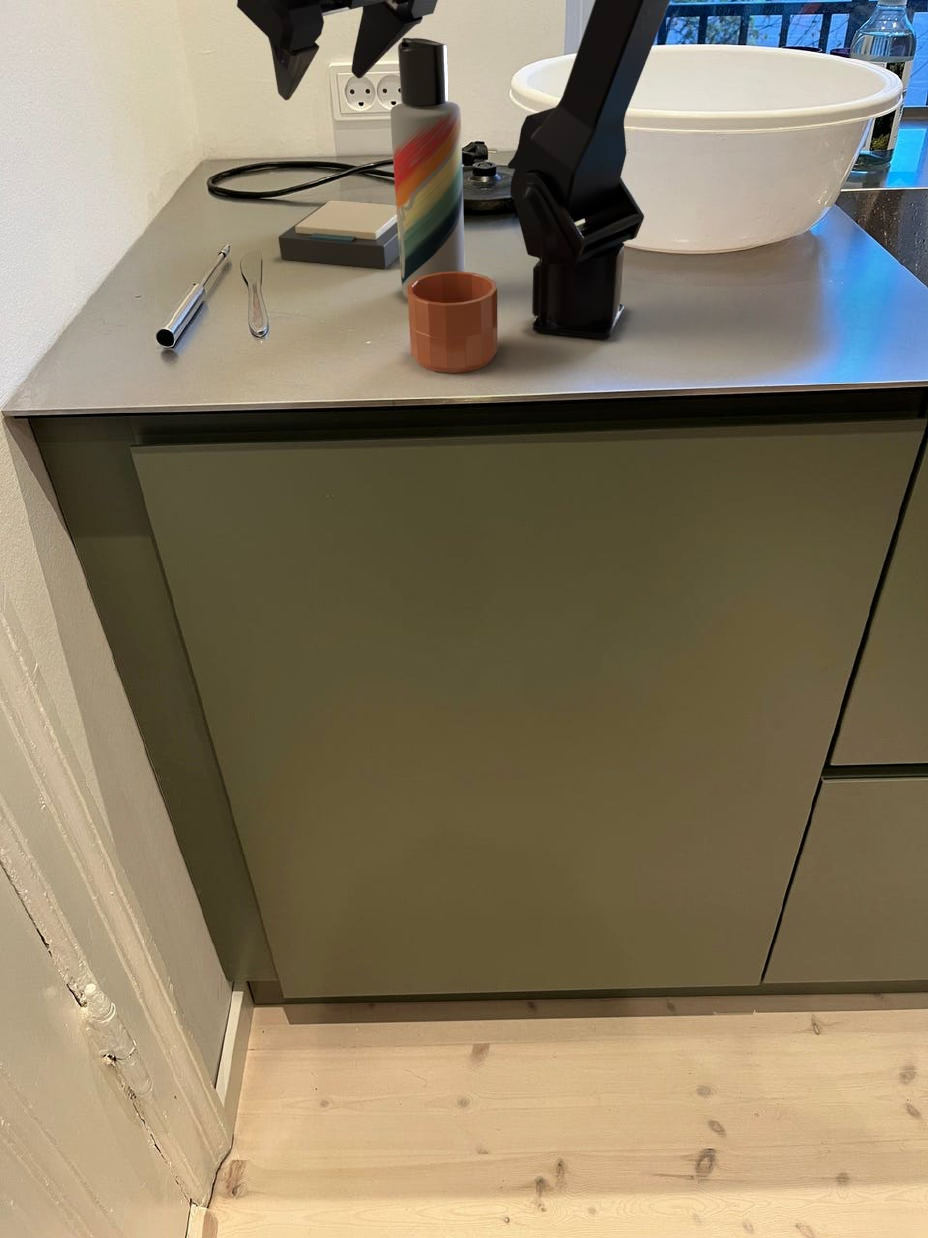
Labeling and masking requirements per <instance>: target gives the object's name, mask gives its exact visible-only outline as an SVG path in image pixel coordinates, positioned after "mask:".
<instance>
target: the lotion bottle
mask: <svg viewBox="0 0 928 1238" xmlns="http://www.w3.org/2000/svg"><path fill="white" fill-rule="evenodd" d="M397 55H398V70H399V85H400V87H399V88H400V101H401V103H398V104H396V105H394V106H392V108H391V109H390V113H389V114H390V132H391V148H392V149H391V151H392V163H393V176H394V178H393V179H394V192H395V193H394V194H395V205H396V209H397V224H398V239H399V254H400V256H399V268H400V279H401V280H400V281H401V290H402V294H403V296H404V297H405V298H406V299H407V300H408V296H407V286H408V285H409V284H410V283H411V282H412V281H413V280H415V279H418V278H420V277H422V276H424V275H429V274H433V273H438V272H450V271H462V272H466V262H465V261H466V258H465V223H464V219H465V218H464V183H463V182H464V181H463V177H464V176H463V144H462V143H463V141H462V140H463V139H462V114H461V113H462V111H461V108H460V105H458V104H457V103H455V102H453V101H449V68H448V67H449V65H448V45H447V44H445V43H441V42H439V41H435V40H432V39H427V38H421V37H412V38H411V37H402V38H401V41H400V43H398V46H397Z"/></svg>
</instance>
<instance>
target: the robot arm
mask: <svg viewBox="0 0 928 1238" xmlns="http://www.w3.org/2000/svg"><path fill="white" fill-rule="evenodd" d="M438 1H439V0H237V1H236V7H237V8H238V9H239V10H240V11H241V12H242V13H243V14H244V16H246V18H248V19H249V20H250V21H251V22H252V23H253V24H254V25H255V26H256V27H257V28H258V29H259V30H260V31H261V32H262V33H263V34H264V35H265V36H266V38H268V42H269V46H270V49H271V50H270V51H271V56H272V62H273V69H274V76H275V82H276V88H277V93H278V95H279V96H280V97H281V98H282V99H283V100H284V101H289V100H290V99H291V98H292V96H294V93H295V92H296V90H297V89H298V87H299V85H300V83H301V81H302V80H303V79H304V76H305V74H306V73H307V71H308V69H309V67H310V65H311V64H312V62H313V60H314V58H315V57H316V55H317V53H318V51H319V49H320V45H319V44H318V43H317V42H316V41H317V40H318V39H319V38H320V37H321V35H322V32H323V29H324V24H325V19H324V17H327V16H330V15H334V14H338V13H339V14H340V13H342V12H347V11H351V10H355V9H359V8H362V12H361V18H360V22H359V27H358V31H357V36H356V41H355V45H354V50H353V56H352V62H351V74H353V75H354V77H356V78H357V79H362V78H363V77H364V76H365V75H366V74H367V73H368V72H369V71H370V70H371V69H372V68H373V67H374V66H375V65H376V64H377V63H378V62H379V61H380V60H381V59H382V58H383V57H384V56H385V55H386V54H387V53H388V52H389V51H390V50H391V49H392V48H393V47H394V46H395V45H396V44H397V43H398V42H399V41H400V40H402V39H403V38H404V36H406V35H407V33H409V32H410V31H411V30H412V29H413V28H414V27H416V25H420V24H421V23H422V21H423V19H424V17H425V16H429V15H433V14H434V13H435V11H436V7H437V4H438ZM670 2H671V0H594V2H593V5H592V8H591V11H590V14H589V16H588V19H587V23H586V26H585V28H584V32H583V34H582V37H581V40H580V43H579V46H578V49H577V52H576V55H575V58H574V60H573V64H572V67H571V70H570V72H569V76H568V77H567V80H566V81H567V82H566V85H565V88H564V90H563V93H562V96H561V98H560V99H559V102H558V104H557V105H556V106H555V107H551V108H548V109H544V110H541V111H539V112H535V113H532V114H527V115H526V116H525V118H524V121H523V123H522V125H521V127H520V133H519V139H518V143H517V148H516V151H515V153H514V154H513V157H512V159H510V161H509V162H508V163H507V168H508V169H510V170H511V169H513V172H512V174H511V179H510V183H509V184H510V185H509V187H510V188H509V191H510V192H509V193H510V194H509V195H510V197H511V199H513V201H514V202H513V203H514V205H515V209H516V214H517V218H518V222H519V225H520V229H521V230H520V231H521V235H522V238H523V242H524V246H525V250H526V254H527V255H528V256H530V257H534V258H538V260H537V262H536V263H535V265H534V266H533V267H532V298H531V299H532V301H531V303H532V304H531V306H532V307H531V309H532V310H531V313H532V315H533V316H534V317H536V318H535V320H534V321H533V323H532V331H533V332H537V333H547V334H556V335H566V336H575V337H583V338H593V339H604V340H605V339H610V338H611V337H612V334H613V332H614V331H615V328H616V326H617V325H618V323H619V321H620V318H621V316H622V315H623V314H624V313H623V312H624V309H625V306H624V304H622V303H621V293H622V281H623V268H624V256H625V255H624V254H625V242H628V241H632V240H634V239H636V238H637V237H638V234H639V232H640V229H641V227H642V225H643V223H644V219H645V214H644V212H643V210H642V209H641V207H640V205H639V204H638V202H637V200H636V199H635V197H634V195H633V194H632V193H631V191H630V189H629V188H628V186H627V185H626V183H625V181H624V180H623V177H622V173H623V170H624V164H625V161H626V158H627V142H626V131H625V118H626V114H627V111H628V109H629V107H630V103H631V101H632V98H633V96H634V94H635V91H636V88H637V85H638V83H639V81H640V78H641V76H642V74H643V71H644V68H645V65H646V63H647V61H648V58H649V55H650V53H651V51H652V48H653V45H654V43H655V41H656V38H657V36H658V33H659V30H660V28H661V25H662V23H663V20H664V17H665V16H666V12H667V10H668V8H669V5H670ZM582 220H584V222H581V223H580V224H577V225H576V223H578V222H580V221H582Z"/></svg>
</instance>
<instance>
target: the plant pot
mask: <svg viewBox="0 0 928 1238" xmlns="http://www.w3.org/2000/svg"><path fill="white" fill-rule="evenodd" d="M407 296H408V299H407V308H408V325H409V340H410V341H409V342H410V355H411V357H413V359H414V360H415V361H416V363H417V364H418V365H420V366H421V367H423V368H424V369H426V370H430V371H434V372H439V373H446V374H447V373H449V374H456V373H457V374H458V373H465V372H470V371H474V370H478V369H480V368H483V367H485V366H486V365H487V364H489V363H490V362H491V361H492V360H493V358H494V356H495V355H496V354H497V353H498V344H499V343H498V339H499V338H498V286H497V281H495V280H493V279H492V278H490V277H489V276H486V275H484V274H480V273H476V272H471V271H465V272H462V271H450V272H438V273H433V274H429V275H424V276H422V277H420V278H418V279H415V280H413V281H412V282H411V283H410V284H409V285H408V286H407Z"/></svg>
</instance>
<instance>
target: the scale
mask: <svg viewBox="0 0 928 1238" xmlns="http://www.w3.org/2000/svg"><path fill="white" fill-rule="evenodd" d="M278 244H279V252H280V259H281V260H287V261H288V260H289V261H297V262H305V263H307V262H308V263H317V264H318V263H319V264H327V265H328V264H329V265H337V266H339V265H340V266H347V267H348V266H349V267H360V268H370V269H380V270H381V269H382V270H386V269H387V268H388V267H389V266H390V265H391V264H392V263H394V261H395V260H396V259H398V258H399V257H400V254H399V239H398V224H397V209H396V204H386V203H385V204H384V203H371V202H358V201H346V200H345V201H344V200H333V199H332V200H329V201H328V202H325V203H323V204H322V205H320V206H319V207H317V208H316V209H315V210H313V211H312V212H311V213H309V214H307V215H306V216H305V217H304V218H302V219H301V220H300V221H298V222H297V223H295V224H294V225H293V226H291V227H290V228H288V229H287V230H286V231H284V232H283V233H282V234H280V235H278Z"/></svg>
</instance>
